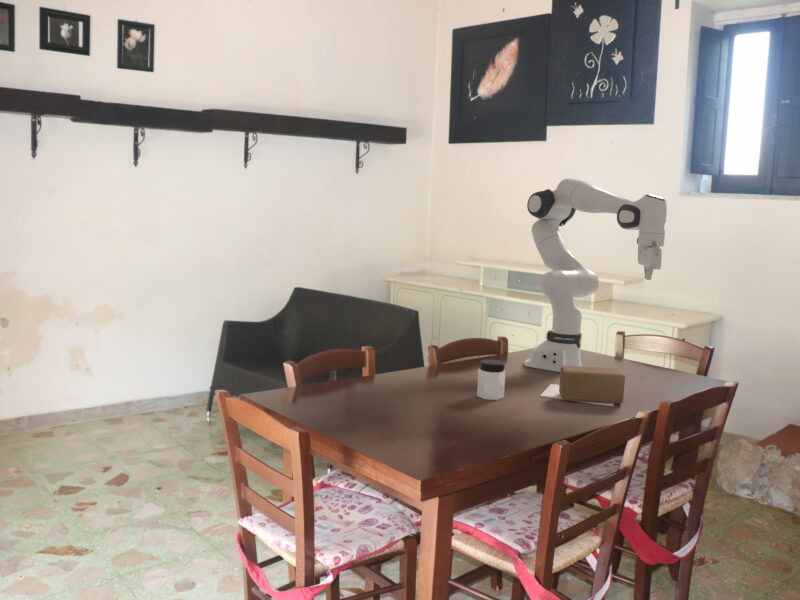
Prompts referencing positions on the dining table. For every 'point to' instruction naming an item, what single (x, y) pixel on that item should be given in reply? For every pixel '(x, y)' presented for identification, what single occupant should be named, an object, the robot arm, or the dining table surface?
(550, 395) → the mat
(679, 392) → the dining table surface
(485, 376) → the jar
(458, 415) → the dining table surface
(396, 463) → the dining table surface
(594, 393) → the block
